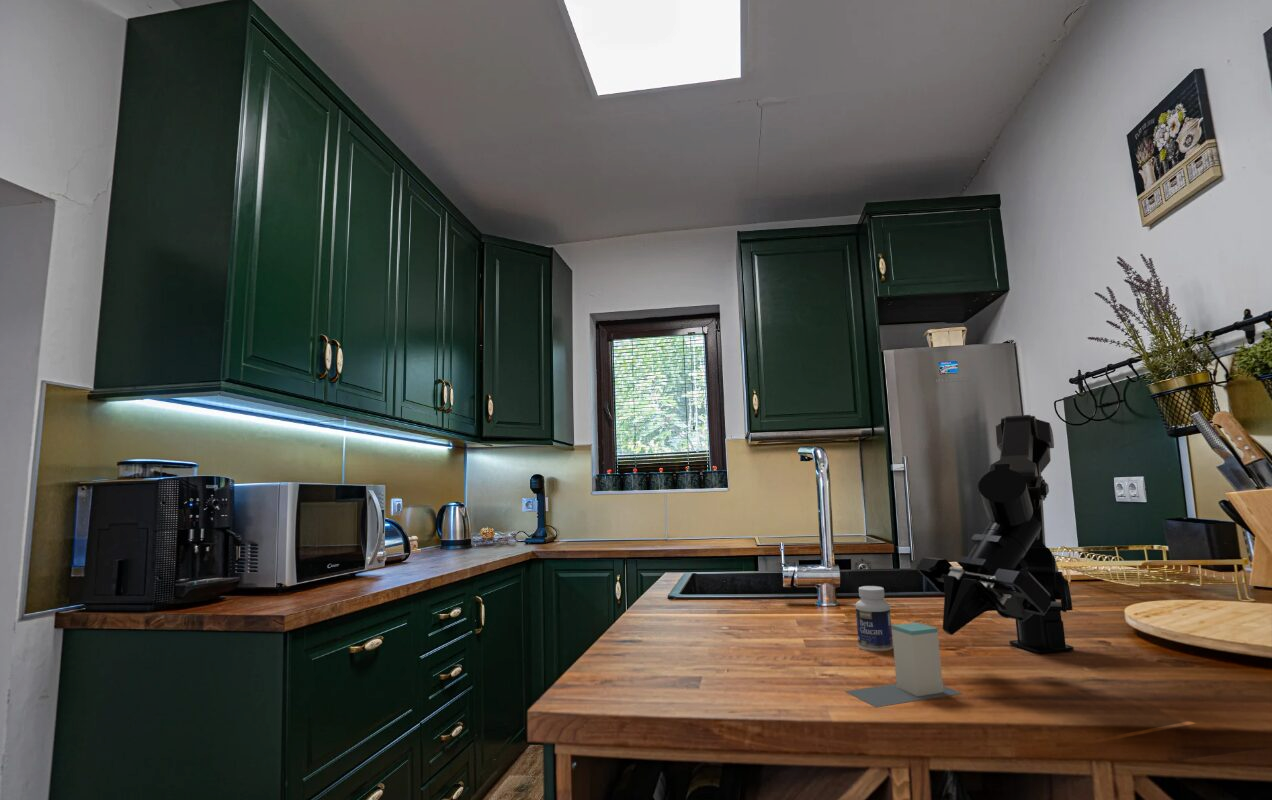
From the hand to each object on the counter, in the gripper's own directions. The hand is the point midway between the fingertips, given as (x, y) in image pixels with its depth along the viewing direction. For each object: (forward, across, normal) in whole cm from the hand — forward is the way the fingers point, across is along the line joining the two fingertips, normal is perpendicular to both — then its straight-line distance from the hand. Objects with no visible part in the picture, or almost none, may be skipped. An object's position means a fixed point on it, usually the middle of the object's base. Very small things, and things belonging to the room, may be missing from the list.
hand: (947, 632), depth 89 cm
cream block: (+8, 0, -1) cm, 8 cm away
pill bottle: (+3, +21, -8) cm, 23 cm away
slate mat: (+10, 0, 0) cm, 10 cm away
